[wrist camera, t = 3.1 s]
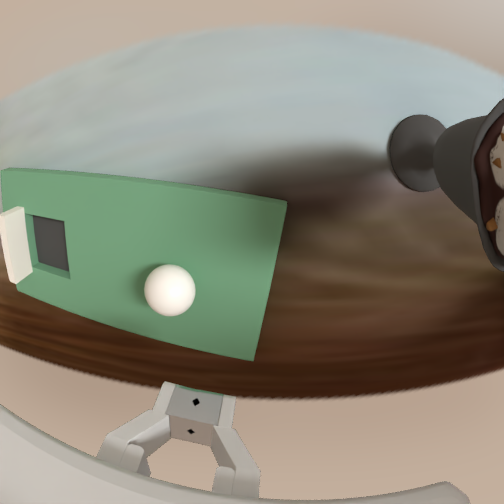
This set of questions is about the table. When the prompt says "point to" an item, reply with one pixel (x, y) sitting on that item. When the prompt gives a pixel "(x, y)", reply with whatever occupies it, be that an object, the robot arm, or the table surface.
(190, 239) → the green
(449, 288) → the table surface
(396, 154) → the sundae
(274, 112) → the table surface
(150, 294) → the ball
